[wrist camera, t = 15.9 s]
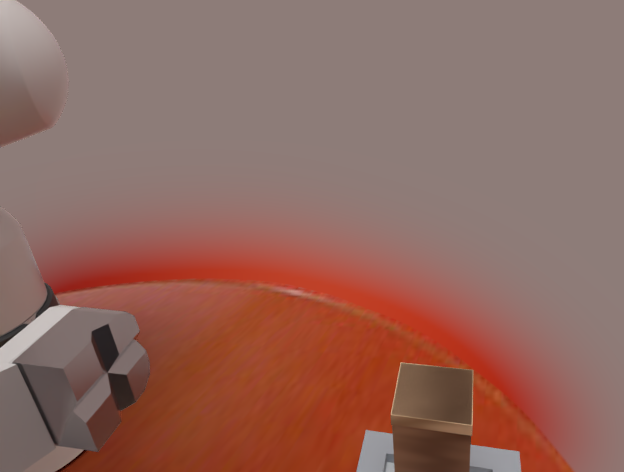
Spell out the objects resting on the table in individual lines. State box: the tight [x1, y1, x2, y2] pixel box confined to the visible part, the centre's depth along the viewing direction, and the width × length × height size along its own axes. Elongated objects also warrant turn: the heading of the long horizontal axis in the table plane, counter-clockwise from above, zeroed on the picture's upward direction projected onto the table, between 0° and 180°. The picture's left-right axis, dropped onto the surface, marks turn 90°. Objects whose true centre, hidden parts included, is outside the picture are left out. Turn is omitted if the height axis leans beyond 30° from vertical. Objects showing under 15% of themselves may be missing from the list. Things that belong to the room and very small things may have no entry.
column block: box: [391, 363, 473, 472], centre depth 35 cm, size 5×5×12 cm
